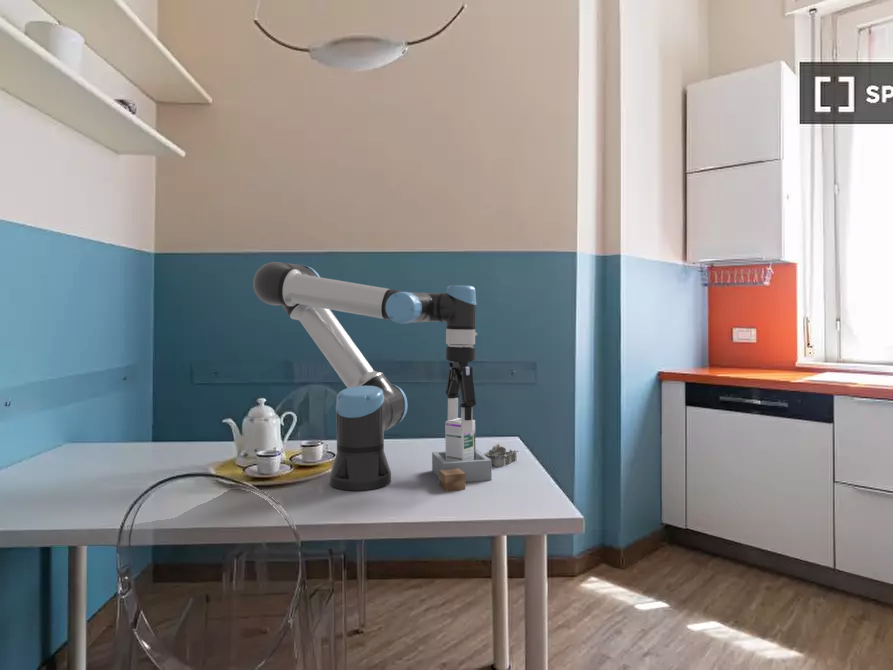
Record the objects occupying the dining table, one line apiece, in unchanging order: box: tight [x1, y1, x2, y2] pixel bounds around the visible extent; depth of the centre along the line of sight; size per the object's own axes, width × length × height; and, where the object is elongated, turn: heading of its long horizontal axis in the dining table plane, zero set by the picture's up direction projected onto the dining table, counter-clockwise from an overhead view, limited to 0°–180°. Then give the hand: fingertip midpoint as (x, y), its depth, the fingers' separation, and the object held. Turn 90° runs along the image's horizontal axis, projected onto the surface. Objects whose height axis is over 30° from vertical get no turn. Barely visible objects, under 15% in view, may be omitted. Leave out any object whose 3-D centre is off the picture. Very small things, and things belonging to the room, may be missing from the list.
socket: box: [431, 448, 492, 483], centre depth 165 cm, size 12×12×5 cm
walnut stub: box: [438, 468, 466, 492], centre depth 154 cm, size 5×5×4 cm
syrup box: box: [444, 417, 477, 462], centre depth 165 cm, size 6×6×14 cm
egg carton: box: [483, 443, 519, 468], centre depth 179 cm, size 11×8×4 cm
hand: (459, 427), depth 165 cm, fingers open, 13 cm apart
